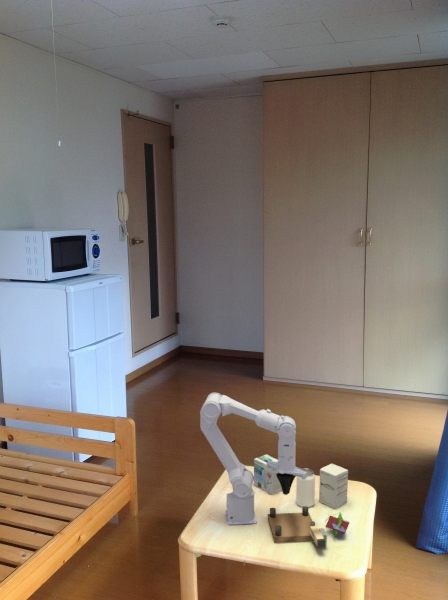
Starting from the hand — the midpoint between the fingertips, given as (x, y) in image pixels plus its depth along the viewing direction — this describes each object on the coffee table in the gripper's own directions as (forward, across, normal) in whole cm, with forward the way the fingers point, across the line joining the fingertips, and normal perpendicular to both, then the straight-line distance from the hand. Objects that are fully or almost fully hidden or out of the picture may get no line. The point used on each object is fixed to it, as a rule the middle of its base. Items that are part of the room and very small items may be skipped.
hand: (286, 493), depth 187 cm
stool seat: (+10, +4, -3) cm, 11 cm away
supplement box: (+10, +7, +21) cm, 24 cm away
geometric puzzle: (+10, +17, +3) cm, 20 cm away
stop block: (+10, +16, -5) cm, 20 cm away
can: (+10, -1, +14) cm, 17 cm away
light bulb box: (+10, -18, +16) cm, 26 cm away
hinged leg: (+8, +15, -7) cm, 18 cm away
